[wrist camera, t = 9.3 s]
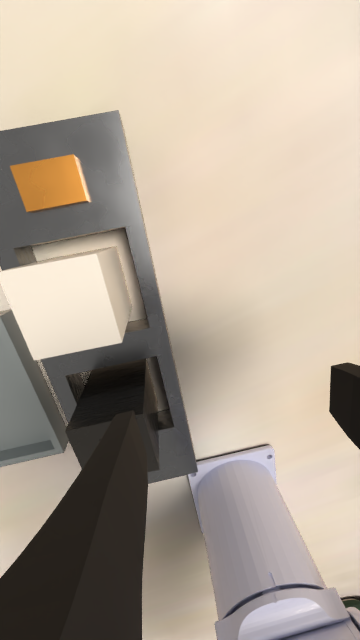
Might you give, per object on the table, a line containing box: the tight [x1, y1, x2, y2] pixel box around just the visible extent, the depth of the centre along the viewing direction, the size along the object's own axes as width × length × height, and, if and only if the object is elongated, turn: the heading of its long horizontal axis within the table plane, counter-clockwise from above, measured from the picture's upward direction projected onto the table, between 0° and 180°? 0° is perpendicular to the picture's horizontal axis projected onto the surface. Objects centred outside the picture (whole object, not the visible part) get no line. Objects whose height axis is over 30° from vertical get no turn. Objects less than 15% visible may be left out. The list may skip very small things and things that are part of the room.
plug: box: [0, 246, 132, 361], centre depth 13 cm, size 4×4×6 cm
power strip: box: [0, 110, 198, 484], centre depth 15 cm, size 24×8×6 cm, turn 11°
